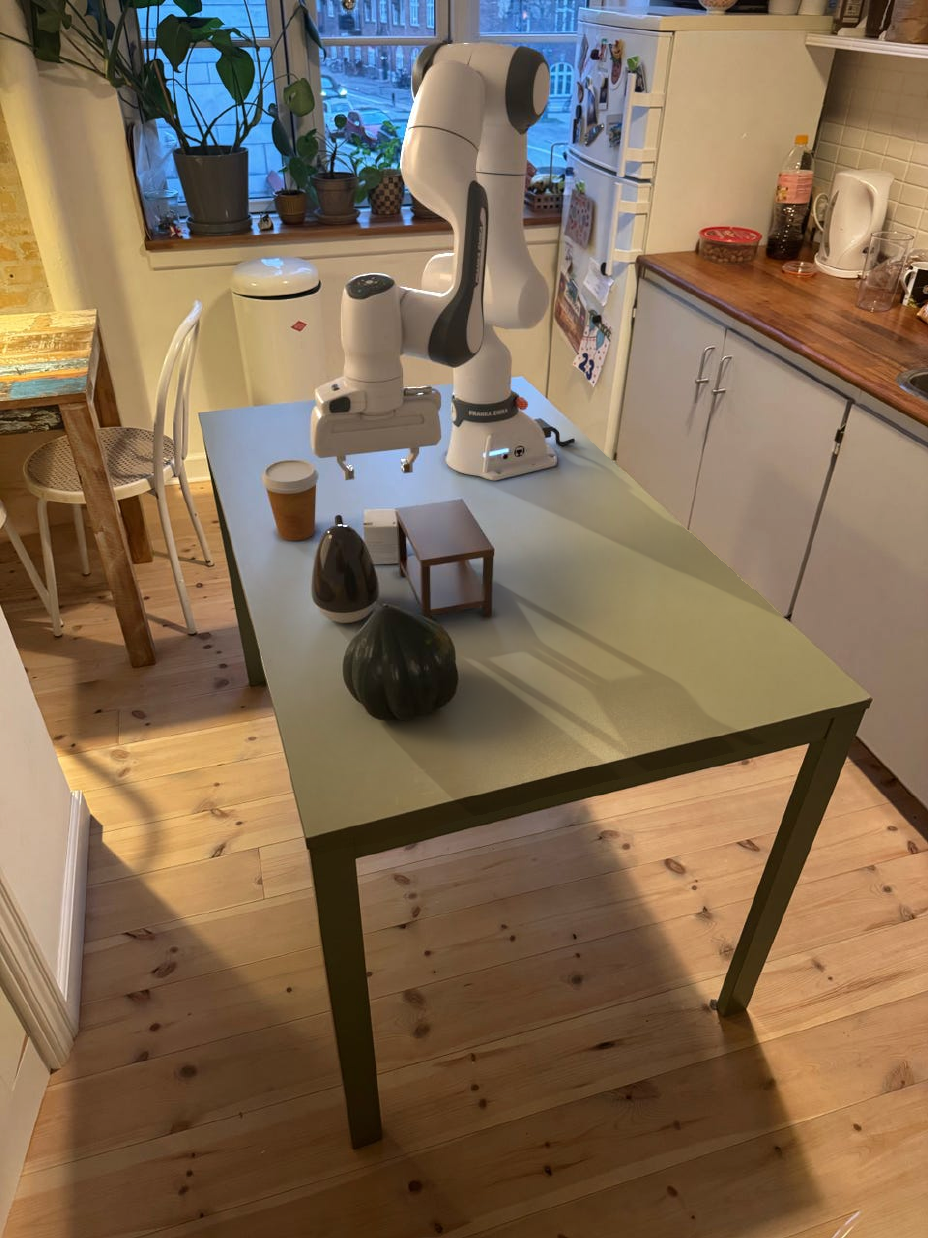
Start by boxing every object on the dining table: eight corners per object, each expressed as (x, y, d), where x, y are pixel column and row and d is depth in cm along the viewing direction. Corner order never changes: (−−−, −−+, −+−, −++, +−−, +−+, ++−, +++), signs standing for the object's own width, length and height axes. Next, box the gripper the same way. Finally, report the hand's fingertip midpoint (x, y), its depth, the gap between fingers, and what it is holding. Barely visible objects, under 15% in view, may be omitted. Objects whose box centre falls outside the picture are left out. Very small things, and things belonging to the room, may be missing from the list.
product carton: (402, 545, 152) (400, 507, 147) (401, 564, 147) (400, 525, 142) (366, 546, 151) (364, 508, 147) (365, 565, 146) (362, 526, 142)
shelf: (462, 562, 147) (462, 498, 140) (492, 615, 135) (494, 548, 128) (398, 572, 145) (395, 508, 138) (423, 628, 132) (421, 560, 125)
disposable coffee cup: (334, 525, 157) (328, 464, 150) (304, 550, 150) (297, 487, 143) (289, 514, 160) (281, 453, 153) (258, 538, 153) (248, 476, 146)
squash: (462, 716, 108) (453, 595, 110) (341, 726, 108) (333, 604, 109) (459, 715, 122) (450, 608, 124) (351, 724, 122) (344, 616, 123)
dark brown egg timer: (377, 590, 140) (372, 506, 131) (383, 628, 132) (378, 541, 123) (312, 596, 139) (303, 511, 130) (315, 635, 131) (305, 547, 122)
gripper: (435, 377, 137) (435, 459, 145) (304, 389, 132) (312, 473, 140) (446, 391, 132) (446, 475, 140) (310, 405, 127) (318, 491, 135)
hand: (378, 475), depth 140 cm, fingers open, 8 cm apart
